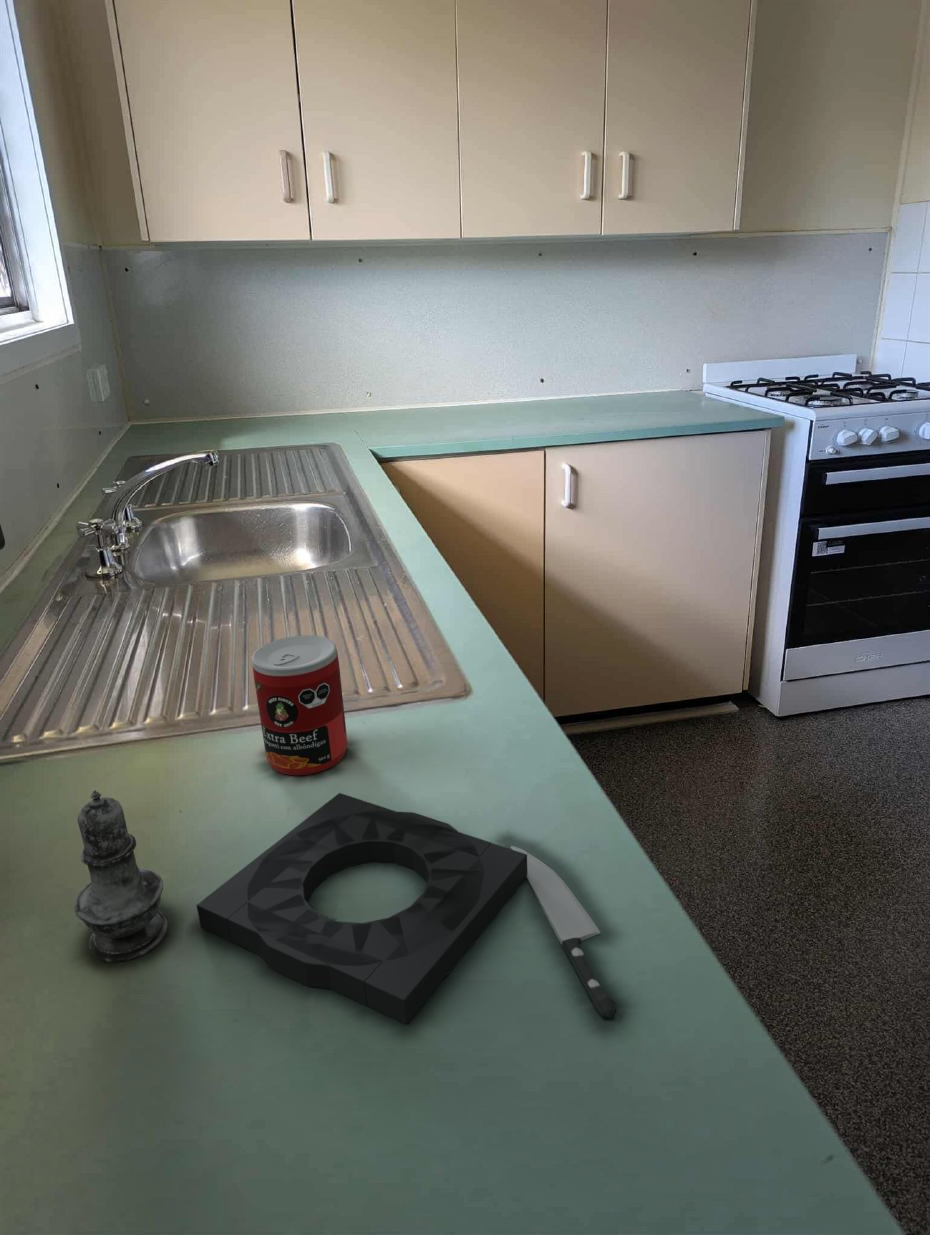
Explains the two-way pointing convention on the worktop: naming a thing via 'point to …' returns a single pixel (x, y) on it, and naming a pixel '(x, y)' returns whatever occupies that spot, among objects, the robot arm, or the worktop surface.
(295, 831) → the black pad
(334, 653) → the canned food
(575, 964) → the chef's knife
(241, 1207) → the worktop surface
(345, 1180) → the worktop surface
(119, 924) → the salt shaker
